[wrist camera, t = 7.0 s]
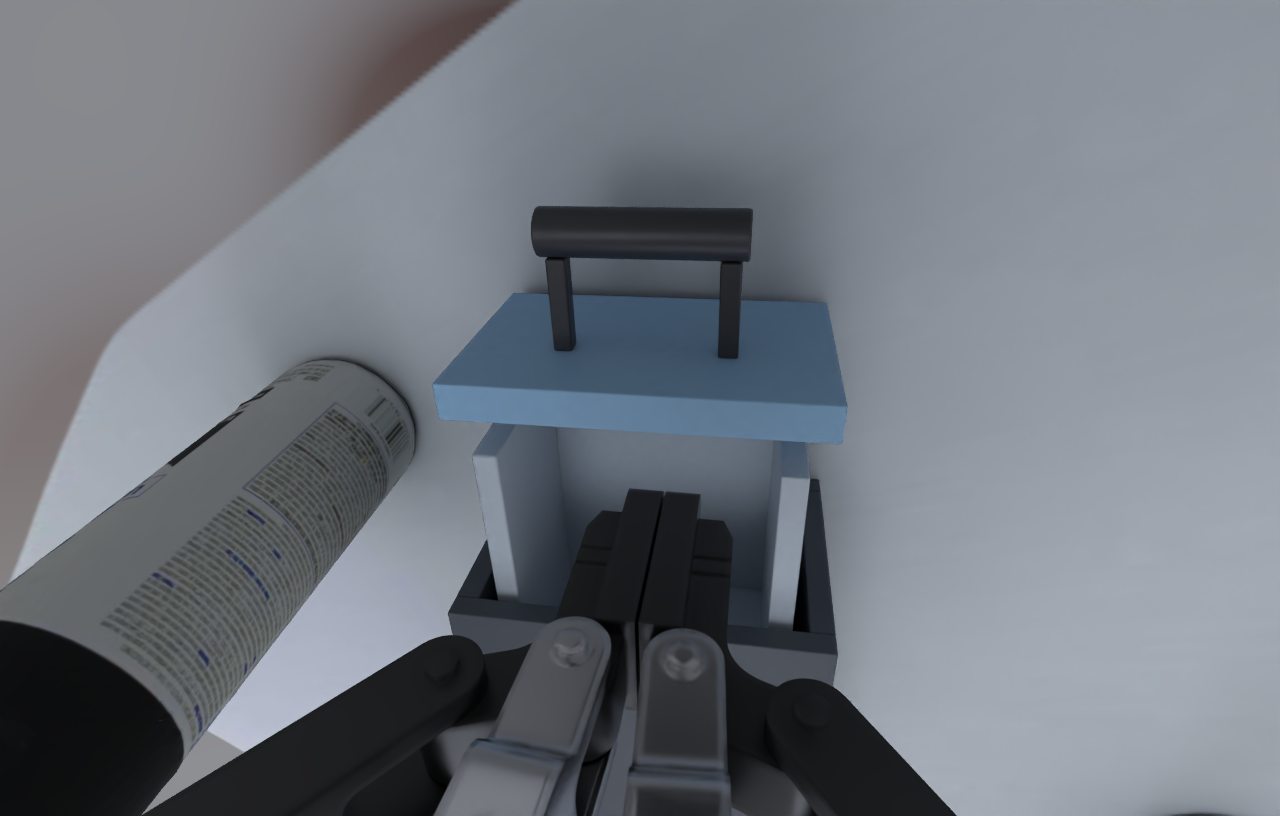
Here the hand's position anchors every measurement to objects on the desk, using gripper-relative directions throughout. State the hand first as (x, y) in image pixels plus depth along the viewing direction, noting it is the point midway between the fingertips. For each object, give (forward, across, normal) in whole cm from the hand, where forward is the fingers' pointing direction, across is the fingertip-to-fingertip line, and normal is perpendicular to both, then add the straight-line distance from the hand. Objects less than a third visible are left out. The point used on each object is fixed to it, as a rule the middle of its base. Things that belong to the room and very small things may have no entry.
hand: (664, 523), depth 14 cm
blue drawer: (+12, +2, +4) cm, 13 cm away
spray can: (+13, +16, +7) cm, 22 cm away
